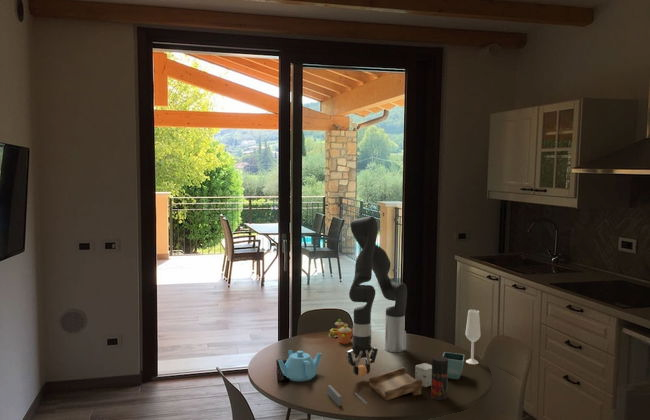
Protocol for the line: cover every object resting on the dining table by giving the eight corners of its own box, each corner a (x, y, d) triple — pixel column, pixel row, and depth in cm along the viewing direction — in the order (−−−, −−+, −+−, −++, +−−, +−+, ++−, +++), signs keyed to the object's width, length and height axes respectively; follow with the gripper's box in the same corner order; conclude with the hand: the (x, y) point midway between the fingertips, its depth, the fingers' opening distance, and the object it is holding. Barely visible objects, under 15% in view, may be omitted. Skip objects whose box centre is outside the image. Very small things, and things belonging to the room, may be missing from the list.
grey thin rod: (351, 388, 201) (351, 387, 201) (368, 403, 187) (368, 403, 187) (349, 388, 201) (349, 388, 201) (365, 404, 187) (365, 403, 187)
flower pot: (464, 374, 217) (464, 354, 217) (462, 382, 209) (463, 361, 208) (443, 371, 220) (443, 351, 219) (441, 379, 212) (441, 358, 211)
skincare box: (414, 382, 208) (414, 365, 207) (424, 379, 211) (424, 362, 211) (425, 387, 203) (426, 369, 202) (435, 384, 206) (436, 366, 206)
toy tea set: (370, 343, 258) (370, 325, 257) (343, 348, 251) (343, 328, 250) (345, 330, 281) (346, 312, 280) (320, 333, 274) (320, 315, 273)
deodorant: (429, 393, 197) (430, 356, 196) (444, 393, 197) (445, 355, 197) (433, 400, 191) (434, 361, 190) (449, 400, 192) (450, 361, 191)
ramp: (403, 381, 209) (404, 366, 209) (422, 394, 196) (422, 379, 196) (368, 386, 203) (369, 371, 203) (385, 400, 190) (385, 385, 190)
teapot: (275, 380, 208) (275, 355, 207) (288, 368, 222) (288, 344, 221) (310, 385, 203) (311, 359, 203) (321, 372, 218) (322, 347, 217)
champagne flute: (463, 364, 230) (465, 312, 228) (465, 359, 236) (466, 308, 234) (479, 366, 227) (480, 313, 226) (480, 361, 233) (482, 310, 232)
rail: (330, 393, 196) (330, 384, 195) (341, 405, 185) (341, 396, 185) (327, 394, 195) (327, 385, 195) (338, 406, 185) (338, 396, 185)
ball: (364, 373, 211) (364, 362, 211) (368, 376, 207) (368, 366, 207) (354, 374, 210) (354, 364, 210) (359, 378, 206) (359, 367, 205)
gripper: (373, 328, 213) (372, 368, 215) (342, 332, 208) (342, 372, 209) (381, 333, 207) (381, 374, 208) (349, 337, 201) (349, 379, 202)
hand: (361, 373), depth 209 cm, fingers closed on ball, 4 cm apart
